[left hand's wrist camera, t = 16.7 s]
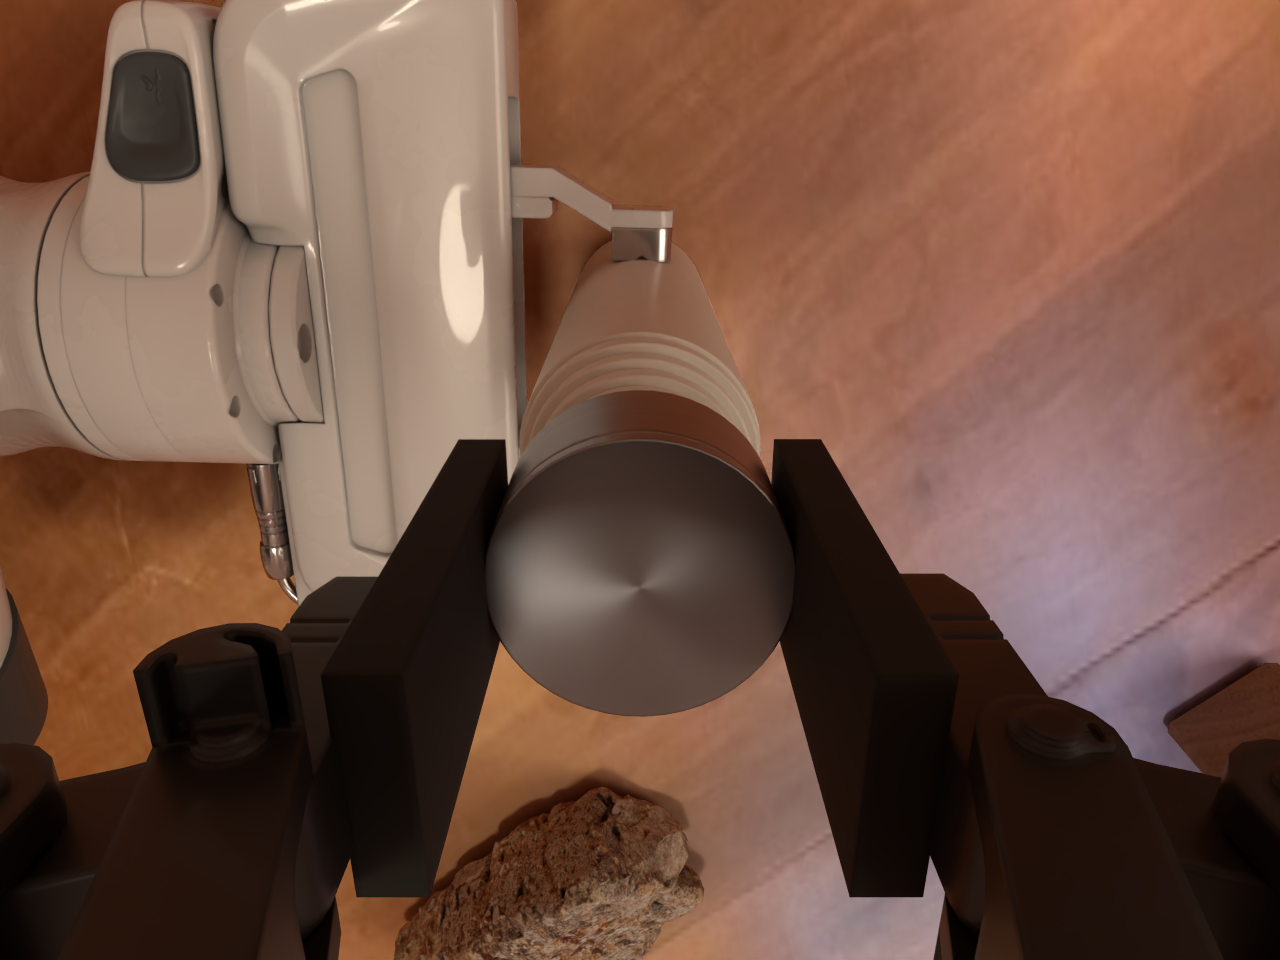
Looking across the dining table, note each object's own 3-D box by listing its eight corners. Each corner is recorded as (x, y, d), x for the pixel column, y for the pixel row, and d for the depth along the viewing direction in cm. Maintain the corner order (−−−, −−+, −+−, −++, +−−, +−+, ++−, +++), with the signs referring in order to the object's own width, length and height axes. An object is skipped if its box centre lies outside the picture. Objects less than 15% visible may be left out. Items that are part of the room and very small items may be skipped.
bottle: (678, 214, 32) (747, 361, 11) (719, 335, 34) (844, 653, 13) (557, 260, 33) (418, 480, 12) (603, 377, 34) (550, 744, 14)
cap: (452, 476, 14) (418, 542, 12) (686, 335, 13) (696, 376, 11) (600, 672, 15) (593, 762, 13) (820, 555, 15) (852, 631, 12)
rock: (593, 746, 41) (586, 838, 35) (744, 862, 43) (759, 964, 38) (393, 920, 45) (359, 1027, 39) (542, 1017, 47) (530, 1129, 42)
